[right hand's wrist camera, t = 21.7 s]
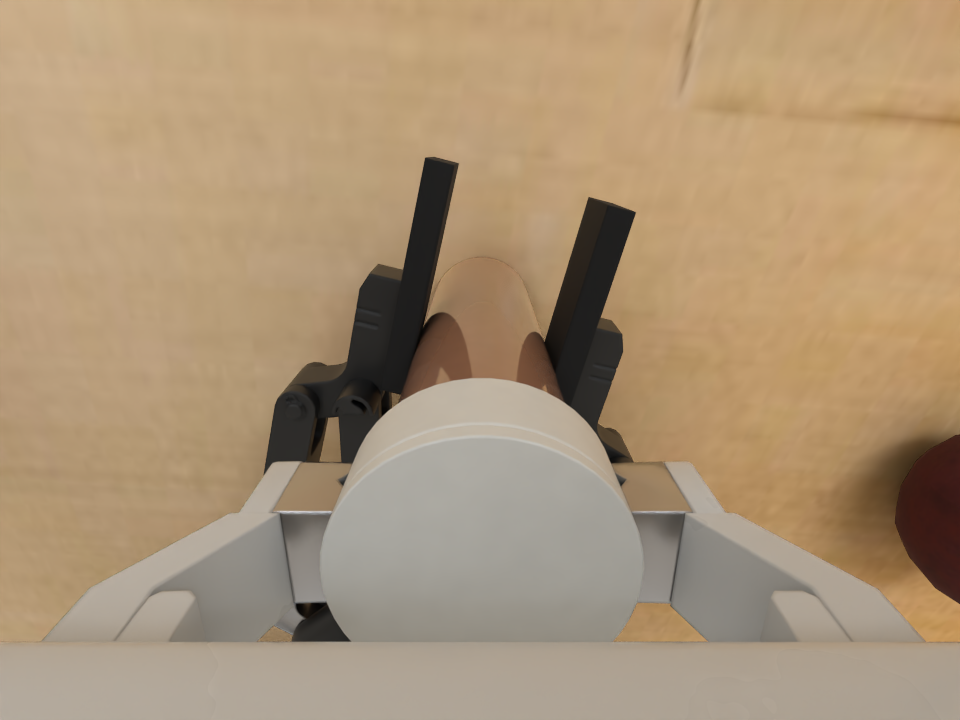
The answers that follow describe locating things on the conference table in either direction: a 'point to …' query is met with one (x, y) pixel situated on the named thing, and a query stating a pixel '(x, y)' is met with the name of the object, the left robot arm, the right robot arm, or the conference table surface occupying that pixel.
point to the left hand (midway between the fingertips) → (527, 184)
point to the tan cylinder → (481, 331)
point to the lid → (481, 524)
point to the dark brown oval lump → (933, 516)
